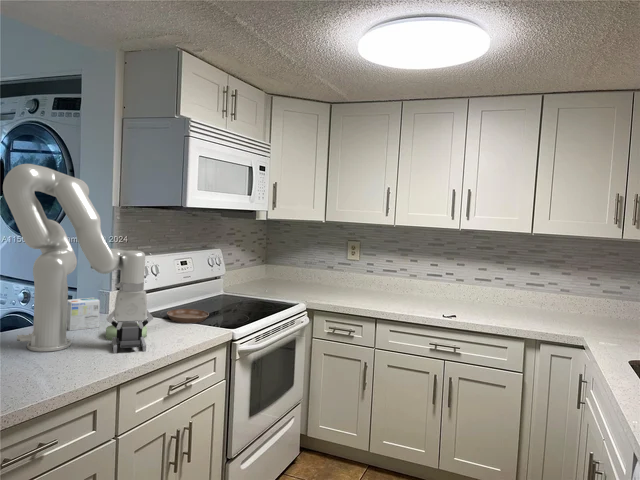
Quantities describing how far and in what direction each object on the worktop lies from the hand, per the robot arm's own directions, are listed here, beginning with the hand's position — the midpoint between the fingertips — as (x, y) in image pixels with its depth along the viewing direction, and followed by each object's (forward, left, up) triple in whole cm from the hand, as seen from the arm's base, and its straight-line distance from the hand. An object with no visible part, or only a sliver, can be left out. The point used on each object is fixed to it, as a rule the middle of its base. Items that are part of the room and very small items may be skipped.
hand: (129, 339), depth 159 cm
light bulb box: (-15, +29, -3) cm, 33 cm away
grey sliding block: (0, 0, -1) cm, 1 cm away
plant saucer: (+26, +36, -3) cm, 45 cm away
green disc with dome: (0, +8, -3) cm, 8 cm away
